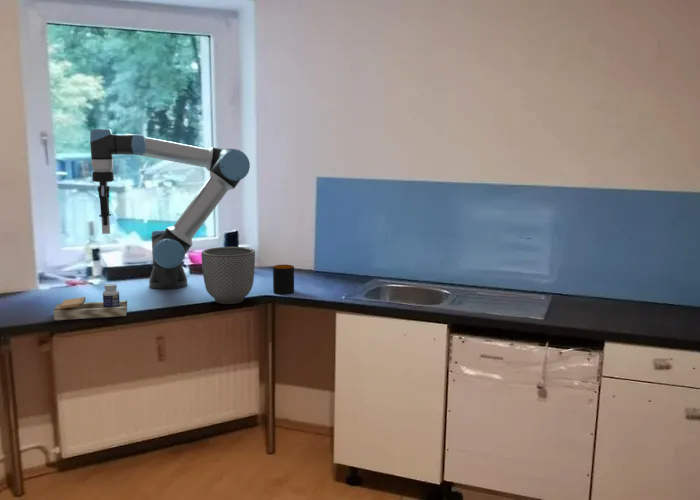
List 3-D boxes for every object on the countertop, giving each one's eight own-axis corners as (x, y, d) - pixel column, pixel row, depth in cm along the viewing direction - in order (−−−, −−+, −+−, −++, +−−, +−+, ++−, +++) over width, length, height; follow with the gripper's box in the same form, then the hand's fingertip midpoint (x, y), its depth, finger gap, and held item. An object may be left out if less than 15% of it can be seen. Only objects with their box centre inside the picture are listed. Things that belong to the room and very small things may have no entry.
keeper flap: (85, 299, 242) (85, 296, 242) (82, 305, 234) (82, 302, 234) (64, 302, 240) (64, 300, 240) (61, 308, 232) (60, 306, 232)
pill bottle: (114, 314, 238) (113, 286, 236) (100, 313, 239) (99, 286, 237) (123, 310, 243) (121, 283, 241) (109, 309, 244) (107, 282, 242)
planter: (229, 292, 273) (228, 244, 269) (266, 299, 262) (266, 250, 258) (191, 302, 257) (189, 251, 253) (229, 310, 246) (228, 257, 242)
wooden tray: (127, 308, 247) (126, 299, 246) (126, 315, 237) (125, 306, 237) (58, 312, 241) (57, 302, 240) (54, 320, 232) (53, 310, 231)
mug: (289, 287, 282) (289, 262, 280) (296, 293, 271) (296, 268, 269) (269, 288, 280) (268, 263, 278) (275, 295, 268) (275, 269, 266)
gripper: (93, 169, 262) (97, 231, 266) (90, 172, 249) (94, 236, 254) (114, 169, 264) (117, 230, 268) (112, 171, 251) (115, 235, 255)
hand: (106, 233), depth 261 cm, fingers closed
